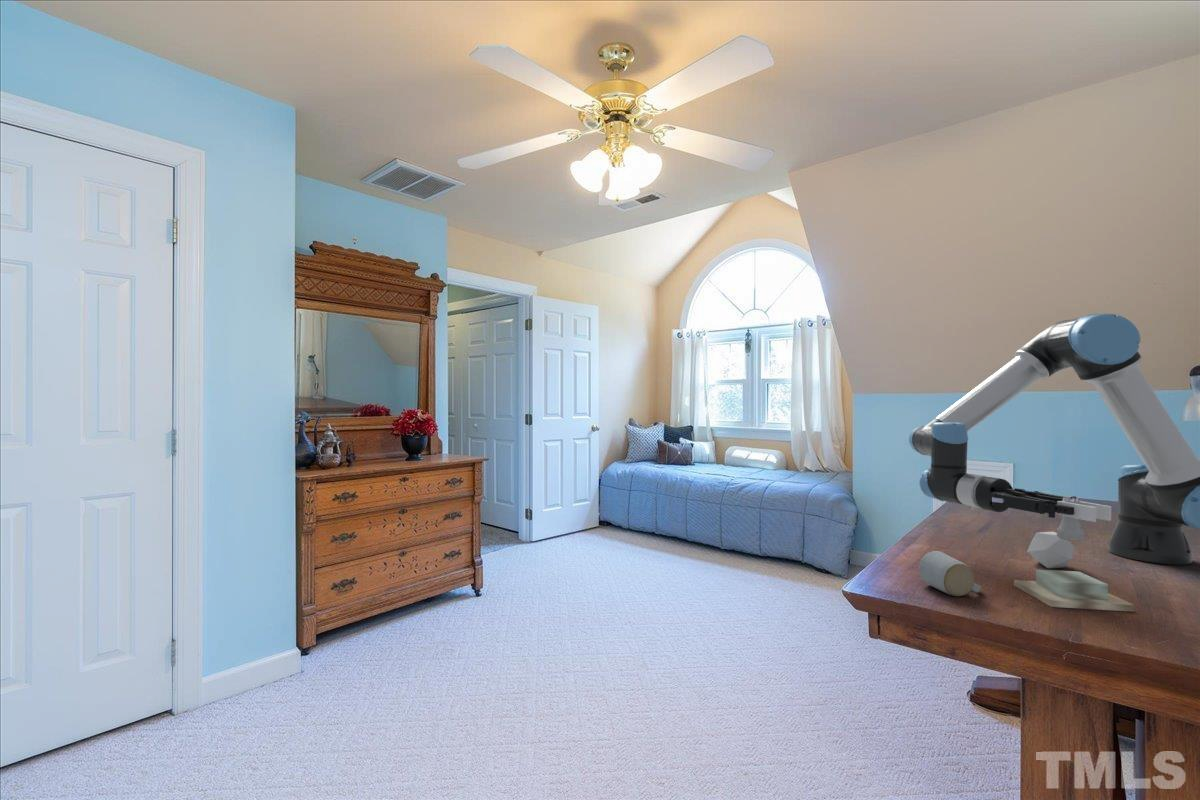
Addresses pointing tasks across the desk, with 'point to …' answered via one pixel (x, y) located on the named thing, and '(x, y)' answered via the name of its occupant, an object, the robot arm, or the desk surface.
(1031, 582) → the plinth
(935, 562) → the ceramic mug
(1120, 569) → the desk surface
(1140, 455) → the robot arm
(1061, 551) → the die
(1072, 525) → the rook chess piece
